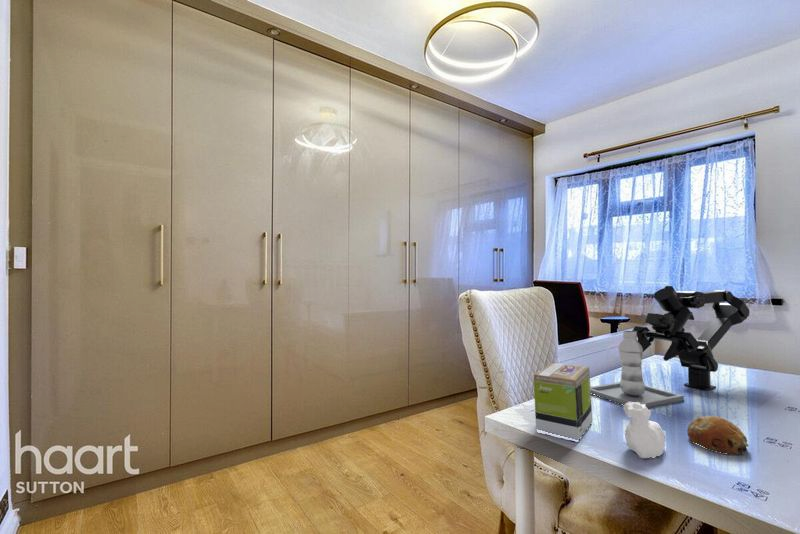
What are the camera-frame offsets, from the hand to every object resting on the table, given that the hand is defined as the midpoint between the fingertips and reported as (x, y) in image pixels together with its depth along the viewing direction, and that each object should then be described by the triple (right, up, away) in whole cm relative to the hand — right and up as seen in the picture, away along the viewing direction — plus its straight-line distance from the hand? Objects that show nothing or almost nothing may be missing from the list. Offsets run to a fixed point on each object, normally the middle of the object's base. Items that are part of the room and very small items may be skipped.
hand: (650, 356), depth 117 cm
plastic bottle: (-7, -12, -2) cm, 14 cm away
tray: (-7, -12, -2) cm, 14 cm away
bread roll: (-10, -11, -36) cm, 39 cm away
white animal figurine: (-28, -11, -38) cm, 49 cm away
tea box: (-39, -12, -25) cm, 48 cm away
